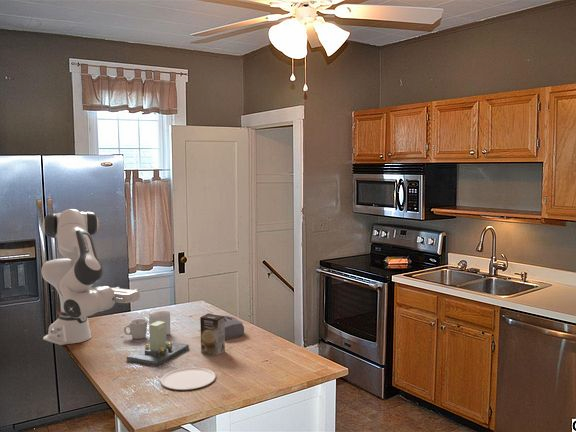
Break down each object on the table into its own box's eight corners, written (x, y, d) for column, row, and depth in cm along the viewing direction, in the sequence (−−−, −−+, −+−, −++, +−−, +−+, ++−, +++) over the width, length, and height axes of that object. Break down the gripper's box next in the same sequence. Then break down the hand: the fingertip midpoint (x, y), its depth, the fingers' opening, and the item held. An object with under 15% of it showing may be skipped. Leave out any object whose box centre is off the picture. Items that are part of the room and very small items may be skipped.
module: (150, 352, 227) (149, 324, 225) (158, 347, 232) (157, 320, 231) (157, 353, 225) (156, 325, 224) (166, 348, 230) (165, 322, 229)
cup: (125, 342, 245) (125, 325, 244) (122, 337, 252) (122, 321, 251) (149, 338, 250) (148, 322, 249) (145, 333, 257) (145, 317, 256)
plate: (219, 388, 196) (219, 384, 195) (162, 395, 190) (162, 392, 189) (211, 367, 215) (211, 364, 215) (159, 373, 209) (158, 370, 209)
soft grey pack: (248, 335, 254) (227, 325, 270) (248, 318, 253) (227, 309, 269) (221, 342, 245) (200, 331, 261) (220, 324, 244) (200, 314, 260)
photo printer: (168, 331, 260) (168, 307, 259) (172, 334, 256) (171, 309, 255) (148, 335, 254) (147, 310, 253) (151, 338, 251) (150, 312, 249)
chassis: (126, 361, 222) (126, 349, 221) (159, 344, 242) (159, 333, 242) (157, 366, 216) (157, 354, 215) (188, 349, 236) (188, 338, 235)
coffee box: (200, 352, 231) (199, 317, 229) (208, 348, 236) (207, 313, 235) (218, 356, 227) (217, 319, 225) (225, 351, 233) (225, 315, 231)
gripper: (124, 292, 195) (149, 284, 208) (83, 287, 204) (108, 280, 216) (125, 309, 196) (149, 300, 209) (83, 303, 204) (109, 295, 217)
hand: (128, 290), depth 213 cm, fingers open, 8 cm apart
